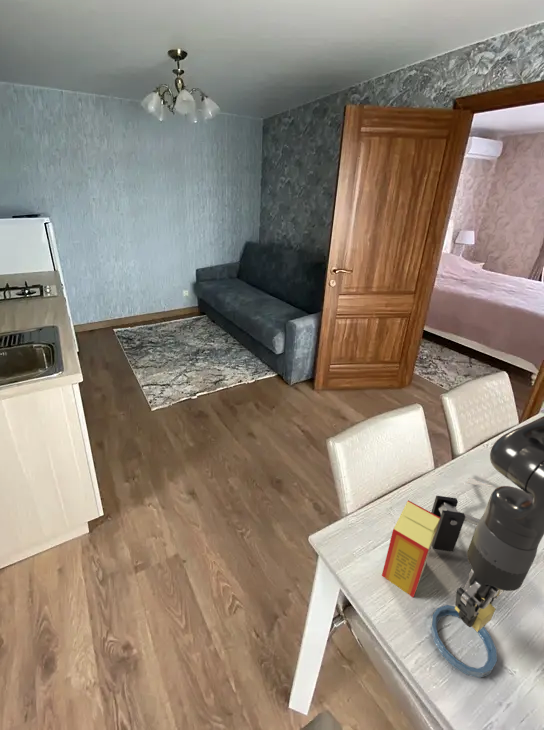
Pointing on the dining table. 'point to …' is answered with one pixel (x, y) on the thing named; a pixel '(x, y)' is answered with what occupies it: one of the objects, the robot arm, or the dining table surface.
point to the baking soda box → (410, 547)
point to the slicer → (447, 525)
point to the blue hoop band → (450, 658)
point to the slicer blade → (452, 508)
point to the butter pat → (482, 616)
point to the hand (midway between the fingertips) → (473, 613)
